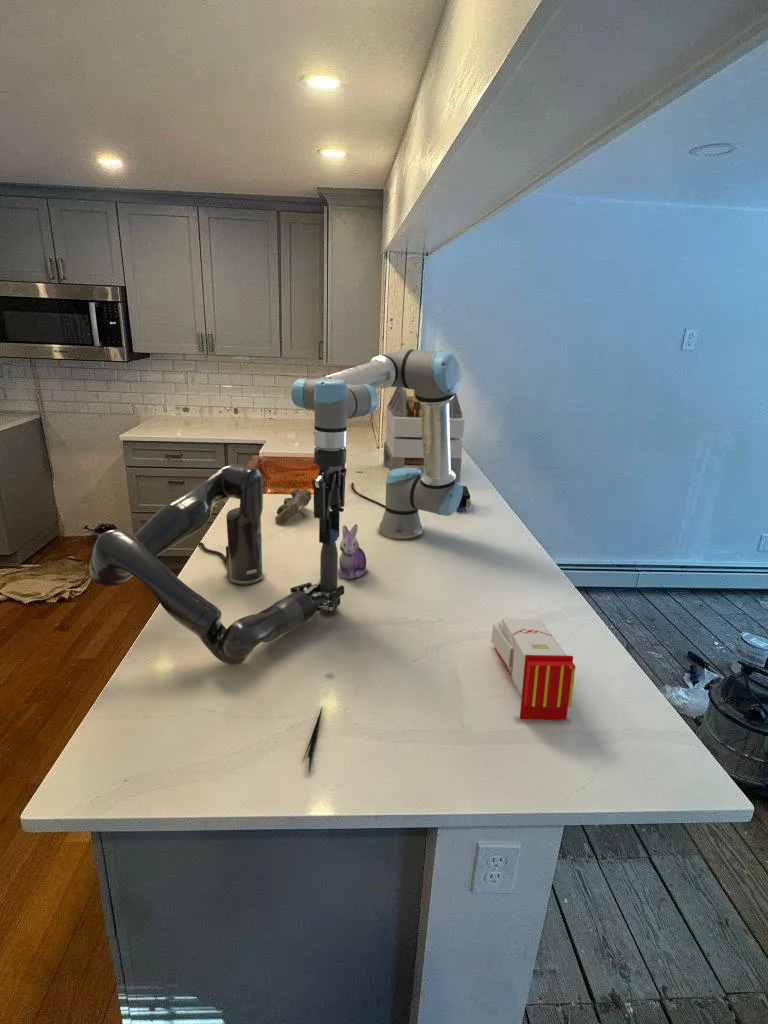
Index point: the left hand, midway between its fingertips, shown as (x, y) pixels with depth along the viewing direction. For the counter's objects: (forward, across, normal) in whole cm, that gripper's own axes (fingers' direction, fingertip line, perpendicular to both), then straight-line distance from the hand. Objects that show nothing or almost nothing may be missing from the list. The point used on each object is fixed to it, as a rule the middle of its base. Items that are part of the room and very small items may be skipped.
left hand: (335, 586), depth 148 cm
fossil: (+44, -54, -6) cm, 70 cm away
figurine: (+19, -9, -6) cm, 22 cm away
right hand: (-3, 0, +14) cm, 14 cm away
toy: (+1, +52, -6) cm, 52 cm away
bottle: (-3, 0, -6) cm, 7 cm away
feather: (-36, +25, -6) cm, 44 cm away
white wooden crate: (+127, -49, -6) cm, 136 cm away
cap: (-3, 0, +16) cm, 16 cm away
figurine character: (+94, -11, -6) cm, 95 cm away
